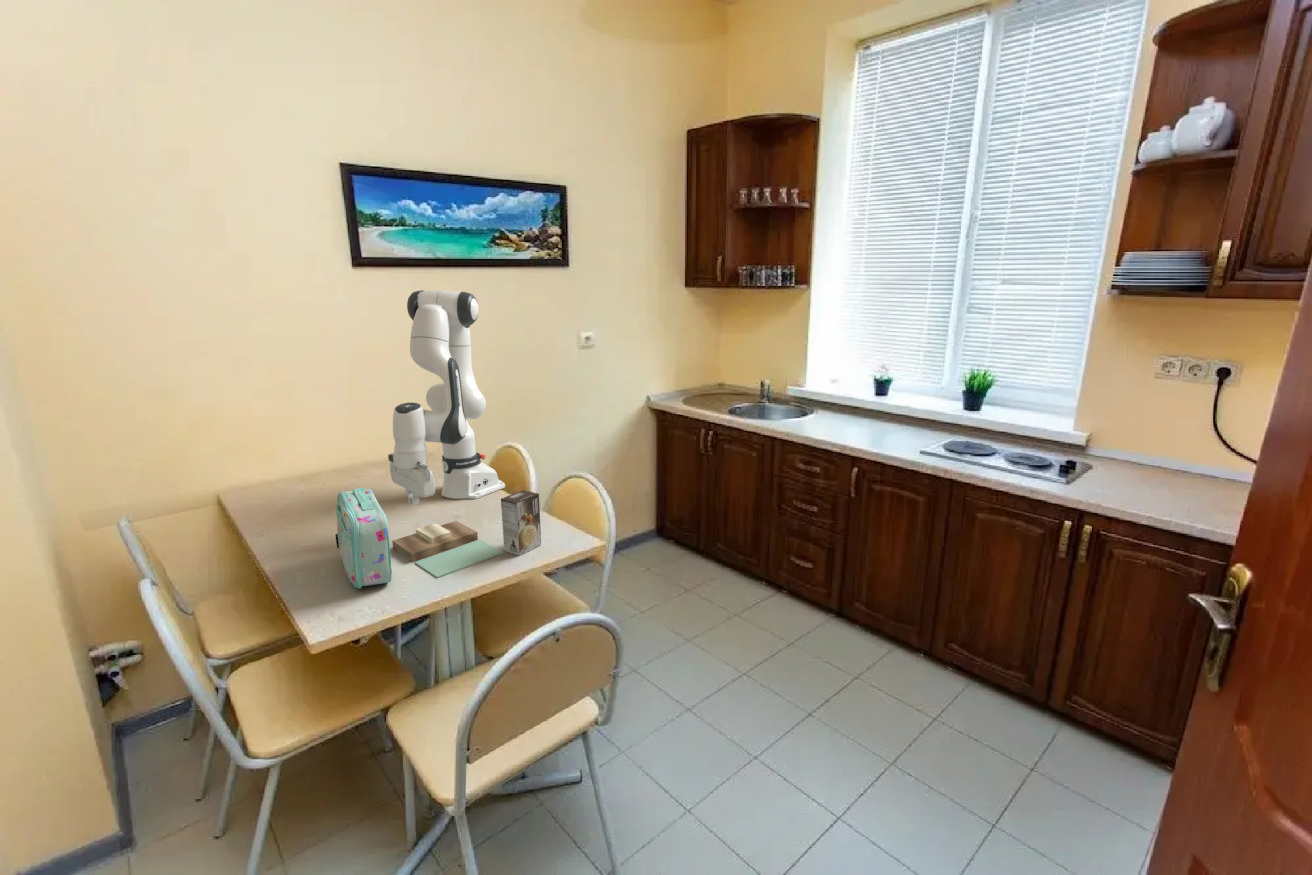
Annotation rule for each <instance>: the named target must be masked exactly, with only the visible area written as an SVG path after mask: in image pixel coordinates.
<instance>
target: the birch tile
mask: <svg viewBox="0 0 1312 875" xmlns="http://www.w3.org/2000/svg"><path fill="white" fill-rule="evenodd" d="M415 530H416V533H417V534H418V535H419V536H421V537H423V538H424V539H426V540H428V541H429V542H431V543H434V542H437V541H440V540H443V539H446V538H449V537H451V532H450V531H448V530H447V529H445V528H443V527H441V525H440V524H437V523H436V522H435V523H431V524H428V525H425V526H422V527H418V528H416V529H415Z"/></svg>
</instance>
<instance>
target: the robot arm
mask: <svg viewBox="0 0 1312 875" xmlns="http://www.w3.org/2000/svg"><path fill="white" fill-rule="evenodd" d="M406 307H407V308H406V309H407V314H408V317H409V318H410V319H411V321H412V325H411V332H410V341H409V355H410V357H411V359H412V360H413V362H414V364H416V365H417V366H418V367H420V368H422V369H423V370H426V371H428V372H429V373H432V374H434V375H436V376H438V377H439V378H440V379H441V380H442V382H443V383H436V384H432V385H431V386H430V387H429V388H428V390H427V392H426V396H425V401H426V404H427V406H428V407H429V408H430V409H431V410H429V409H424V408H423V407H422V405H421V404H420V403H417V402H405V403H404V402H403V403H400V404H399V405H397V406H395V407H394V408H393V415H392V435H393V436H392V437H393V440H394V448H393V451H394V452H390V453H388V454H387V461H388V462H389V471H390V472H389V473H390V478H391V480H392V483H394V484H395V485H398V486H399V487H402V488H403V489H405V493H406V495H407V498H408V503H409V504H412V505H413V506H417V505H419V504H420V498H421V497H422V498H429V497H432V496H434V495H435V493H436V487H435V486H436V485H435V479H434V475H433V472H432V470H431V469H429V467H428V465H427V464H428V451H427V450H428V449H427V447H428V446H427V444H426V443H440V444H441V445H442V455H441V462H442V463H441V464H442V471H443V482H442V490H441V491H440V492H441V493H440V494H441V496H443V497H444V498H447V499H453V500H455V499H456V500H457V499H458V500H459V499H460V500H461V499H470V500H477V499H478V498H481V497H485V496H486V495H489V494H492V493H495V492H496V491H499V490H502V489H504V488H506V483H505V482H504V481H502V480H500V479H499V476H498V473H497V471H496V470H495V469H494V468H492V467H491V466H489V465H487V464H486V463H484V462H482V461H481V460H486V458H487V455H486V454H485V453H479V452H477V451H476V440H475V439H476V437H475V436H476V435H475V431H474V429H473V428H472V427H471V426H470V424H469V422H468V420H476V419H479V418H481V417H482V416H483V415H484V414H485V412H486V408H487V400H486V397H485V396H484V394H483V393H482V392H481V390H480V389H479V386H478V383H477V382H476V378H475V375H474V371H473V363H472V339H471V338H472V337H471V330H470V326H471V325H474V324H475V322H476V321H477V319H478V316H479V310H480V309H479V303H478V300H477V298H476V297H475V295H474V294H473V293H469V292H466V291H456V290H448V289H442V290H423V289H422V290H415V291H412V293H411V294H410V295H409V296H408V299H407V302H406Z"/></svg>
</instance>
